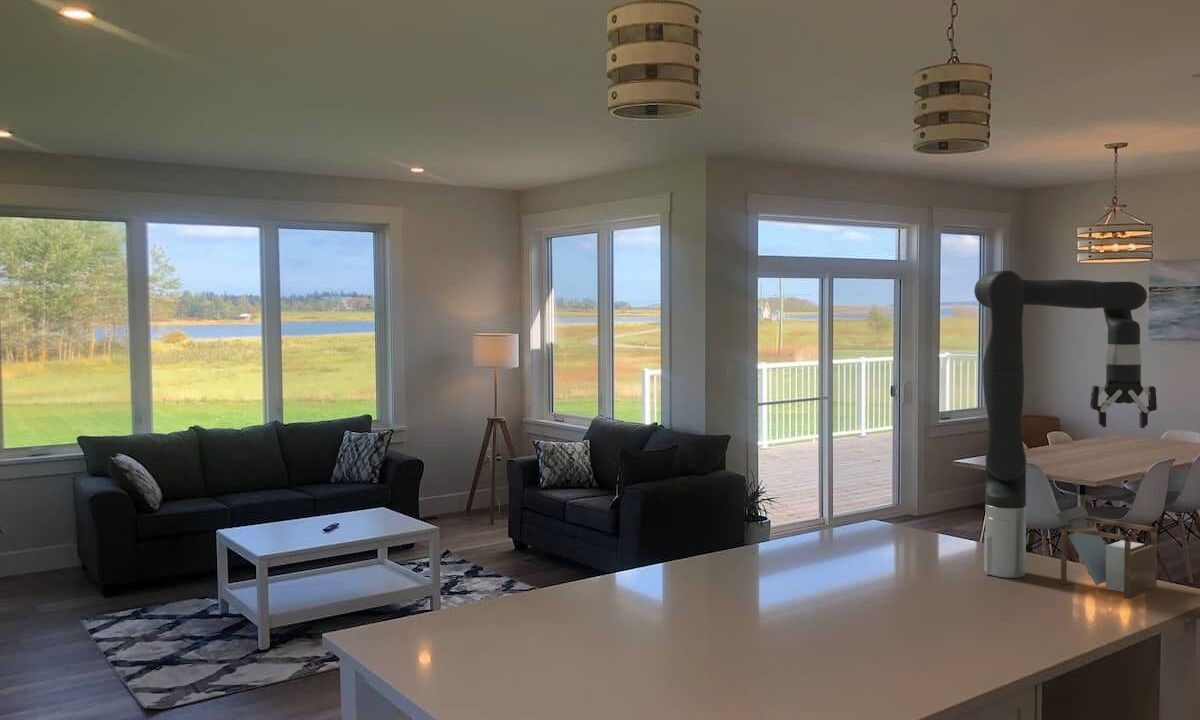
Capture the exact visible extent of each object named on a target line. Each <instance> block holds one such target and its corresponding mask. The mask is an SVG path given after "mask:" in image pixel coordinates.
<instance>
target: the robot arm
mask: <svg viewBox="0 0 1200 720" xmlns="http://www.w3.org/2000/svg"><path fill="white" fill-rule="evenodd" d="M1147 293H1148V292H1147V290H1146V289H1145V287H1144V286H1143V285H1141V284H1140V283H1138V282H1135V281H1100V280H1099V281H1097V280H1089V279H1087V280H1086V279H1046V280H1045V279H1044V280H1042V279H1040V280H1039V279H1038V280H1037V279H1036V280H1035V279H1024V278H1022V277H1021V276H1020V275H1019V274H1018V273H1017V272H1015V271H1012V270H1007V269H1006V270H1005V269H1003V270H999V271H993V272H988V273H985V274H984V275H983V276H981V277H980V278H979V279H978V280H977V282H976V283H975V286H974V296H975V298H976V301H978V303H979V304H980V305H982V306H983V307H986V308H988V309H990V318H991V329H990V335H989V339H988V343H987V344H986V349H985V352H984V356H983V361H982V378H983V379H982V381H983V383H982V384H983V394H984V401H985V409H986V413H987V421H988V435H987V438H988V439H987V448H986V451H985V452H986V453H985V460H984V461H985V491H984V492H985V493H984V494H985V496H984V497H985V509H984V510H985V516H984V517H985V519H984V521H985V522H984V523H985V524H984V525H985V526H984V527H985V530H984V533H983V535H984V538H983V539H984V541H983V547H984V548H983V549H984V550H983V551H984V552H983V559H984V560H983V562H984V563H983V569H984V572H985V574H986V575H988V576H993V577H1000V578H1005V579H1006V578H1008V579H1009V578H1011V579H1013V578H1014V579H1015V578H1023V577H1024V576H1026V562H1027V561H1026V557H1027V556H1026V553H1027V552H1026V549H1027V548H1026V547H1027V546H1026V545H1027V543H1026V541H1027V540H1026V538H1027V536H1026V532H1027V528H1026V526H1027V524H1026V523H1027V518H1026V517H1027V488H1026V487H1027V485H1026V484H1027V481H1026V477H1027V474H1026V473H1027V470H1026V469H1027V455H1026V452H1025V449H1024V442H1023V441H1024V440H1023V434H1022V432H1023V431H1022V414H1023V406H1024V394H1025V377H1024V376H1025V373H1024V372H1025V371H1024V369H1025V368H1024V352H1023V351H1024V348H1023V346H1024V345H1023V316H1024V314H1023V313H1024V305H1025V306H1027V305H1028V306H1029V305H1030V306H1047V307H1056V308H1057V307H1058V308H1069V309H1083V310H1085V309H1086V310H1087V309H1088V310H1089V309H1091V310H1092V309H1102V310H1103V314H1104V319H1105V322H1106V325H1107V347H1106V355H1105V356H1106V357H1105V362H1106V365H1105V367H1106V368H1105V370H1106V371H1105V373H1106V374H1105V377H1106V379H1105V381H1106V382H1105V385H1104V386H1100V385H1094V384H1093V385H1092V386H1091V390H1090V391H1091V393H1090V409H1091V410H1094V411H1097V412H1098V424H1099V425H1100V426H1101V428H1106V427H1107V410H1108V409H1109V408H1110V406H1112V405H1113V404H1114V403H1116V404H1123V403H1124V404H1134V405H1135V407H1137V408H1138V410H1139V411H1140V412H1139V428H1140V429H1145V428H1146V427H1147V426H1148V423H1149V422H1148V421H1149V413H1150V412H1153V411H1157V410H1158V404H1157V388H1156V387H1155V386H1154V385H1149V386H1143V385H1142V350H1141V326H1140V323H1139V322H1137V321H1136V320H1135V319H1133V315H1132V311H1134V310H1137V309H1139V308H1141V307H1142V306H1143V305H1145V303H1146V301H1147V298H1148V294H1147ZM1103 392H1105V394H1106V395H1107V397H1106V398H1105V400H1103V401H1102V403H1101V405H1099V396H1100V395H1101V394H1102V393H1103ZM1143 392H1144V394H1145V395H1146V396H1147V400H1148V402H1147V403H1148V404H1147V406H1146V405H1145V403H1144V402H1143V401H1142V400H1141V398H1140V397H1139V396H1140V395H1141V394H1142V393H1143Z"/></svg>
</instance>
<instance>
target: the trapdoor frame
mask: <svg viewBox="0 0 1200 720" xmlns="http://www.w3.org/2000/svg"><path fill="white" fill-rule="evenodd" d="M1095 523H1096V524H1102V525H1108V526H1115V527H1121V528H1127V529H1133V530H1140V531H1145V532H1150V534H1151V535H1150V544H1149V545H1147V546H1146V545H1145V547H1143V548H1140V549H1138V550H1135V551H1132V552H1131V542H1132V541H1131V540H1132V538H1131V536H1129V535H1128V536H1127V535H1122V534H1116V533H1110V532H1104V531H1099V530H1098V531H1093V530H1087V529H1081V528H1075V527H1071V526H1070V525H1069V526H1068V525H1061V526H1060V537H1061V538H1060V539H1061V540H1060V585H1064V586H1066V585H1068V584H1067V580H1068V577H1067V574H1068V573H1067V566H1068V565H1067V562H1068V561H1067V558H1068V557H1067V556H1068V555H1067V554H1068V548H1067V546H1068V532H1072V533H1074V532H1077V533H1083V534H1089V535H1095V536H1100V537H1102V538H1107V539H1113V540H1119V541H1120V540H1124V541H1125V555H1124V592H1123V597H1124V599H1131V598H1134V597H1136V596H1138V595H1140V594H1143V593H1145V592H1148V591H1149V590H1150V591H1151V590H1152V589H1155V588H1157V583H1158V582H1157V579H1158V578H1157V576H1158V575H1157V574H1158V573H1157V571H1158V568H1157V567H1158V563H1157V562H1158V560H1157V559H1158V555H1157V554H1158V527H1154V526H1147V525H1141V524H1135V523H1129V522H1121V521H1116V520H1110V519H1109V520H1108V519H1103V518H1095V517H1089V518H1088V527H1089V528H1092V527H1095ZM1087 572H1088V571H1087ZM1088 575H1090V574H1089V572H1088Z"/></svg>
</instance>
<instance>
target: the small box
mask: <svg viewBox="0 0 1200 720" xmlns="http://www.w3.org/2000/svg"><path fill="white" fill-rule="evenodd" d="M1143 547H1146V544H1145V543H1140V542H1134V541H1131V552H1132V551H1135V550H1138V549H1140V548H1143ZM1124 555H1125V541H1124V540H1119V541H1116V542H1115V541H1114V542H1113V543H1110V544H1106V582H1105V589H1106V590H1111V591H1116V592H1121V593H1124Z"/></svg>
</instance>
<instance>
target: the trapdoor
mask: <svg viewBox="0 0 1200 720" xmlns="http://www.w3.org/2000/svg"><path fill="white" fill-rule="evenodd" d="M1086 509H1087V508H1085V506H1084V504H1082V505H1079V506H1075V507H1072V508H1068V509H1065V510H1063V511H1061V512H1059V513H1056V517H1057V518H1058V520H1059V522H1060V524H1061V525H1064V524H1066V523H1067V524H1068V525H1069V527H1075V528H1081V529H1087V530H1093V531H1099V530H1098V528H1097V526H1094V527H1092V528H1089V524H1088V523H1087V522H1086V520H1085V518H1084V517H1086V516H1088V515H1089V513H1088V511H1087V510H1086ZM1067 537H1068V538H1069V540H1070V542H1071V543H1072V545H1073V547H1074V548H1075V551H1076V552H1077V554H1078V556H1079V557H1080V560H1081V562H1082V563H1083V565H1084V567H1085V568H1086V570H1087V572H1089V574H1088V575H1090V577H1091V579H1092V581H1093V582H1094V584H1095V586H1098V585H1100V584H1102V583H1106V545H1107V544H1106V542H1105V541H1104V539H1103V537H1100V536H1095V535H1089V534H1083V533H1077V532H1072V533H1070V534H1067Z"/></svg>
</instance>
